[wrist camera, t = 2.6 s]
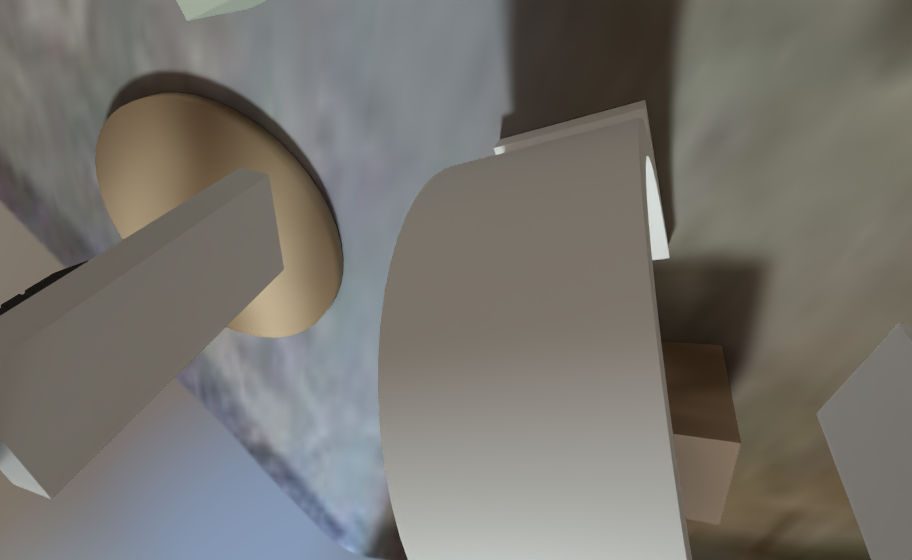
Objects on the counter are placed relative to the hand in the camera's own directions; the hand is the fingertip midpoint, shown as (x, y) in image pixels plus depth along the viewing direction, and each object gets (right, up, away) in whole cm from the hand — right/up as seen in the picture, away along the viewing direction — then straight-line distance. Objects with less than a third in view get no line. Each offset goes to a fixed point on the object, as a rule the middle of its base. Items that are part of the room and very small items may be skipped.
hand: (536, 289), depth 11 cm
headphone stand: (+2, +4, +5) cm, 7 cm away
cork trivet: (-12, +3, +12) cm, 17 cm away
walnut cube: (+6, -4, +9) cm, 12 cm away
